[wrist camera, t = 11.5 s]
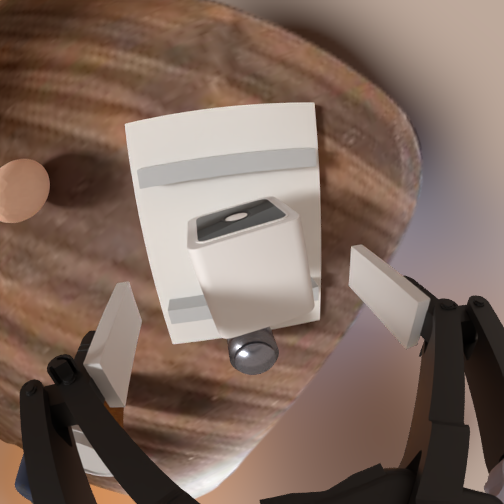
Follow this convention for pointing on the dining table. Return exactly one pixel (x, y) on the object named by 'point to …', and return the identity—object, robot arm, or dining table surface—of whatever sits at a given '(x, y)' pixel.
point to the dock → (220, 192)
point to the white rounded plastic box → (251, 265)
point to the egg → (22, 190)
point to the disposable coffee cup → (86, 451)
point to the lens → (253, 351)
